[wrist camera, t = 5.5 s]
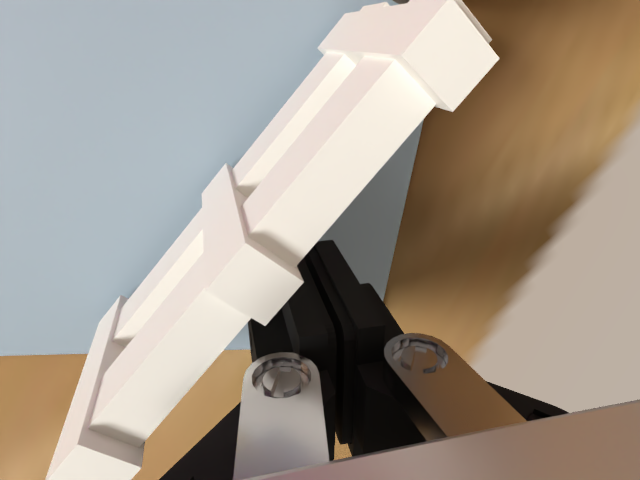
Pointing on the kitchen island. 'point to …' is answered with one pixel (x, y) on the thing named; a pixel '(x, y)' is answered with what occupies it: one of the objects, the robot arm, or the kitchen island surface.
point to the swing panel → (266, 222)
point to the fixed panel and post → (401, 1)
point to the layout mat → (146, 146)
